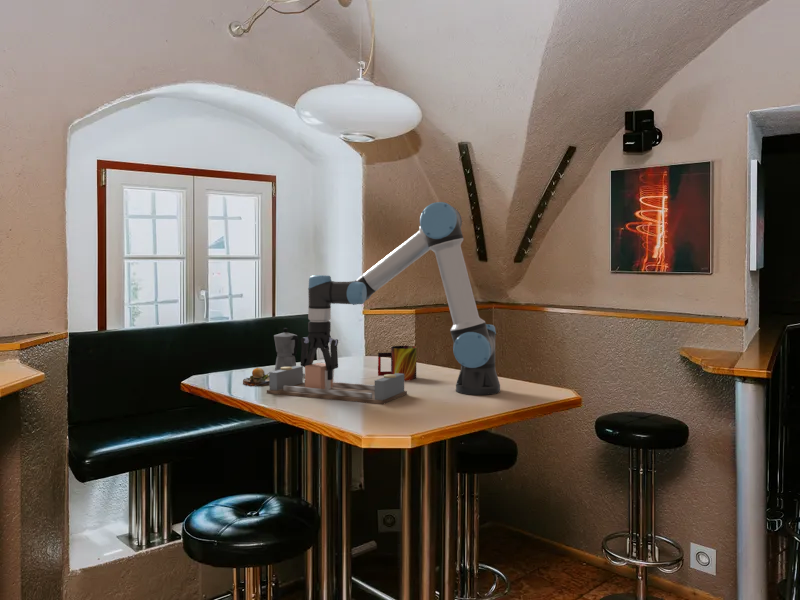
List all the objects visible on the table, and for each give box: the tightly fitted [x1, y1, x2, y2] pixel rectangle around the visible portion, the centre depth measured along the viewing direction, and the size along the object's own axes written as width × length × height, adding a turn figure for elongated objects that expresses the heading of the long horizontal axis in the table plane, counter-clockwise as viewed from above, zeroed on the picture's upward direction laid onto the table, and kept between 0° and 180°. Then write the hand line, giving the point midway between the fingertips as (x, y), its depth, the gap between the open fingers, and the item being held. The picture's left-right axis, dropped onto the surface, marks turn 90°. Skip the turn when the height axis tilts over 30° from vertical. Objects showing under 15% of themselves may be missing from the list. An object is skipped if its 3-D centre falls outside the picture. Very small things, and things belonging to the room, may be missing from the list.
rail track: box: [266, 381, 408, 405], centre depth 232 cm, size 44×18×2 cm, turn 65°
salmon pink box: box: [304, 362, 334, 389], centre depth 235 cm, size 6×8×8 cm
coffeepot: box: [273, 327, 300, 371], centre depth 276 cm, size 15×9×18 cm, turn 43°
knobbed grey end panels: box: [268, 365, 405, 400], centre depth 232 cm, size 44×16×7 cm, turn 65°
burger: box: [242, 367, 270, 387], centre depth 253 cm, size 12×12×8 cm
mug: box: [377, 345, 417, 381], centre depth 262 cm, size 10×14×12 cm
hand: (319, 388), depth 235 cm, fingers closed on salmon pink box, 6 cm apart
